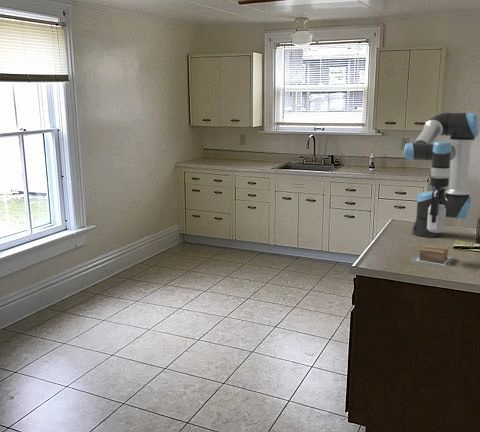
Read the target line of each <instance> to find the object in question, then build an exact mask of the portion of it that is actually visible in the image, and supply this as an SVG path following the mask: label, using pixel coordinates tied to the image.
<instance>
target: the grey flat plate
mask: <svg viewBox="0 0 480 432" xmlns="http://www.w3.org/2000/svg"><path fill="white" fill-rule="evenodd" d="M419 256H420V252H419V253H418V254H416V255H415V256H414V257H413V258H412V259H411V260H410V261H409V262H411V263H417V264H423V265H429V266H435V267H439V268H440V267H441V268H449V266H450V265H451V264H452V262H454V260H455V259H456V257H457V256H453V255H448V257H447V259H446V260H445V261H444V262H443V264H439V263H433V262H427V261H421V260H419Z"/></svg>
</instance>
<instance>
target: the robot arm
mask: <svg viewBox="0 0 480 432" xmlns="http://www.w3.org/2000/svg"><path fill="white" fill-rule="evenodd" d="M479 122H480V121H479V117H478V115H477V114H476V113H473V112H442V113H439V114H436V115H433V116H432V117H431V118H429V119H428V120H426V122H425V123H424V125H423V129H422V131H421V132H420V133H419V134H418V137H416V139H415V141H414V142H407V143H405V145H404V148H403V156H404V158H405V160H411V161H413V160H414V161H416V160H417V161H431V168H430V170H429V171H430V172H431V173H430V176H431V177H430V180H429V181H430V184H429V185H430V186H431V187H434V189H433V190H428V191H422V192H420V193H418V195H417V200H416V203H417V204H416V215H415V217H416V219H415V221H414V224H413V226H412V229H411V233H412V234H413V235H415V236H418V237H423V238H424V237H425V238H439V237H441V236H442V232H443V231H442V232H440V233H435V232H430V231H428V229H427V220H428V208H429V207H430V205H431V210H430V213H429V215H431V224H430V229H433V230H437V222H438V208H439V204H441V205H444V206H445V208H446V216H445V218H450V219H451V218H452V219H461V220H462V219H463V220H465V219H466V218H467V217H468V216H469V214H470V210H471V207H472V203H473V197H471V196H470V192H469V191H468V189H467V188H468V177H469V167H470V158H471V157H470V156H471V146H472V143H473V142H475V139H476V138H477V137H478V136H479V134H480V133H479V132H480V124H479ZM441 136H444V137H445V136H446V137H449V140H450V141H436V139H437V138H439V137H441ZM446 187H448V189H447V190H446Z"/></svg>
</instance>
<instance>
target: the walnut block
mask: <svg viewBox="0 0 480 432" xmlns="http://www.w3.org/2000/svg"><path fill="white" fill-rule="evenodd" d="M419 253H420V256H419V260H421V261H427V262H433V263H439V264H443V262H444V261H445V260H446V259H447V257H448V256H449V247H446V246H440V245H439V246H438V245H434V244H425V245H423V246H422V247H421V248H420V249H419Z"/></svg>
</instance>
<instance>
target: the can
mask: <svg viewBox="0 0 480 432" xmlns="http://www.w3.org/2000/svg"><path fill="white" fill-rule="evenodd" d="M430 210H431V205H430V207H429V208H428V220H427V229H428V231H430V232H435V233H440V232H443V231H445V225H446V217H445V216H446V208H445V206H444V205H441V204H439V208H438V222H437V230H433V229H430V224H431V215H429V213H430Z"/></svg>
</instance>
